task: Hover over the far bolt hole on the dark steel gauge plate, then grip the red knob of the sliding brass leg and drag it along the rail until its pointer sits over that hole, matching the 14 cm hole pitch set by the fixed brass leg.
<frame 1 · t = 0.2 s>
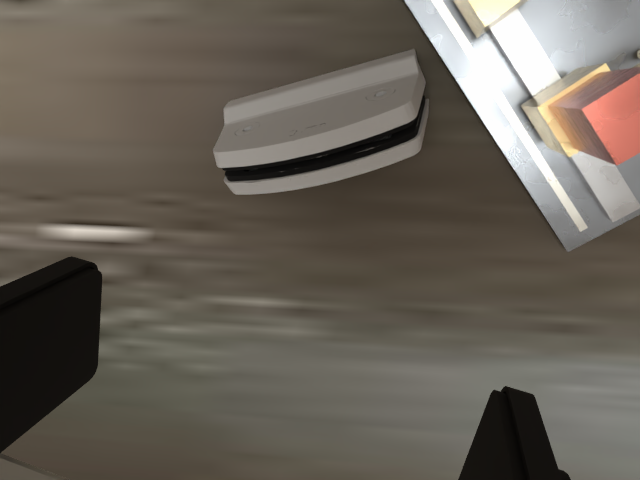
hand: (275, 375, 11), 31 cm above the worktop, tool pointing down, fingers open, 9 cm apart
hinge: (328, 123, 40), on the worktop
gauge plate: (570, 63, 34), on the worktop
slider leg: (625, 87, 26), point 9 cm above the worktop, slide at 9.0 cm
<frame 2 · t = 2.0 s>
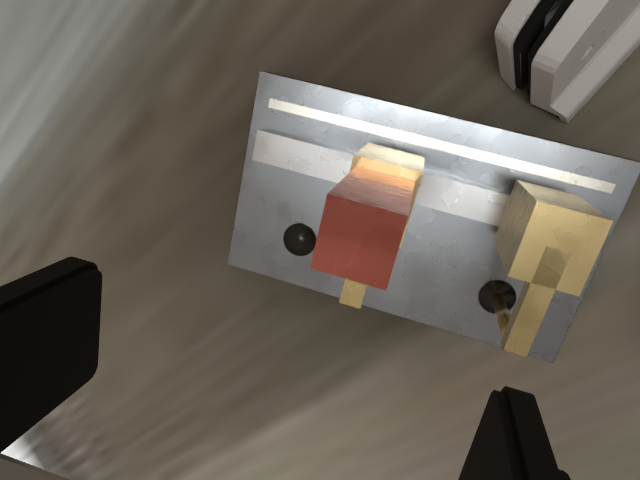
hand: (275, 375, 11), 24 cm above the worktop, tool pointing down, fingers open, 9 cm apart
gauge plate: (410, 215, 33), on the worktop
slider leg: (367, 241, 25), point 9 cm above the worktop, slide at 9.0 cm
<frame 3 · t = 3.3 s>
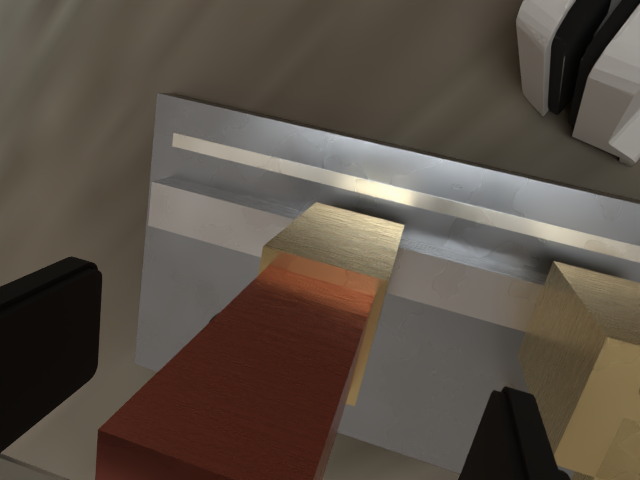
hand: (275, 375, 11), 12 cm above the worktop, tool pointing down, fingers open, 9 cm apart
gauge plate: (389, 301, 22), on the worktop
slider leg: (297, 391, 14), point 9 cm above the worktop, slide at 9.0 cm
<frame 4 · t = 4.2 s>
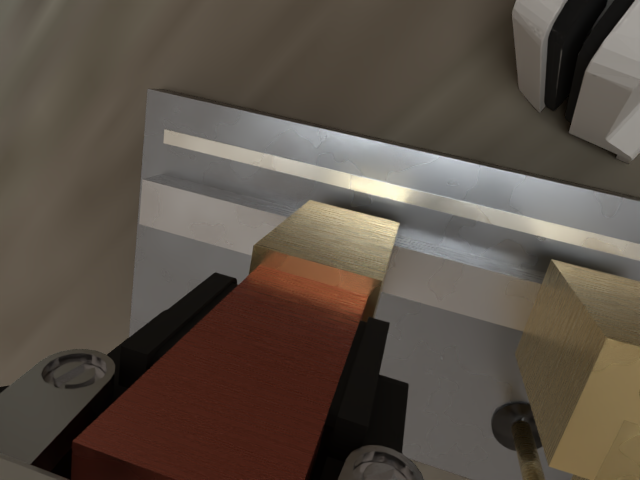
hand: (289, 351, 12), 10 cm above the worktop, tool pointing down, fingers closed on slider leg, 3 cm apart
gauge plate: (385, 300, 22), on the worktop
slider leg: (289, 393, 14), point 9 cm above the worktop, slide at 9.0 cm, touching gripper
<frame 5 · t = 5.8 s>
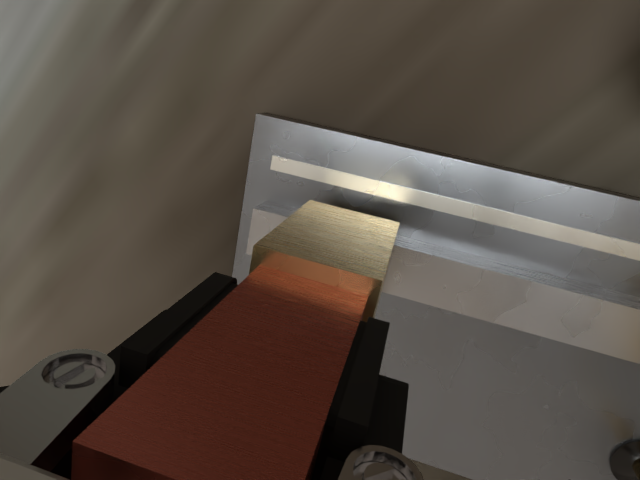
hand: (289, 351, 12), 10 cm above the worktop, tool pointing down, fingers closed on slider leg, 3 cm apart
gauge plate: (495, 330, 21), on the worktop
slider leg: (289, 393, 14), point 9 cm above the worktop, slide at 14.0 cm, touching gripper
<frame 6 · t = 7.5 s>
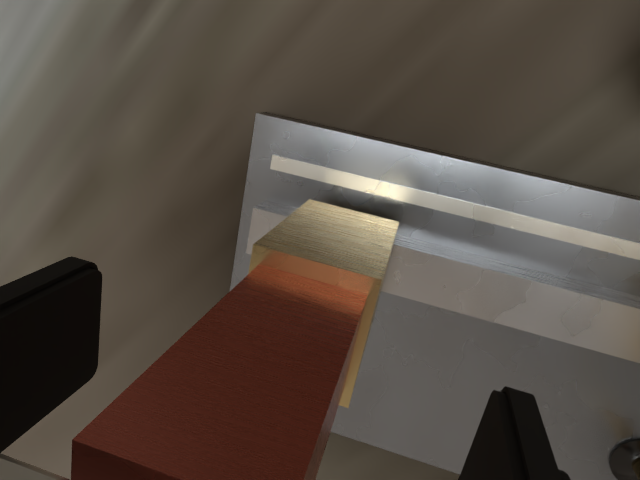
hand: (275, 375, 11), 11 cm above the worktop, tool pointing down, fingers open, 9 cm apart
gauge plate: (495, 330, 21), on the worktop
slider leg: (289, 392, 14), point 9 cm above the worktop, slide at 14.0 cm
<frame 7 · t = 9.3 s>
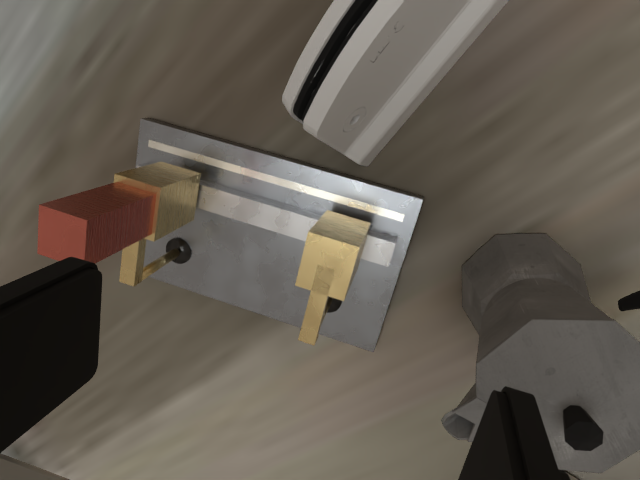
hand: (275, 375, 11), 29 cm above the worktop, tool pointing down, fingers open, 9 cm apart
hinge: (398, 49, 35), on the worktop
coffeepot: (531, 279, 38), on the worktop
gauge plate: (264, 233, 41), on the worktop
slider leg: (132, 236, 34), point 9 cm above the worktop, slide at 14.0 cm
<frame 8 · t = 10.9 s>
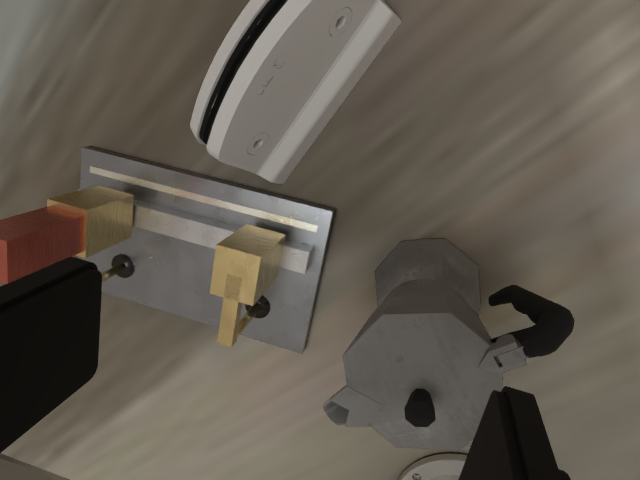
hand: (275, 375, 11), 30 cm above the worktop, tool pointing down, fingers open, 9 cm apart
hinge: (302, 78, 39), on the worktop
coffeepot: (438, 280, 41), on the worktop
gauge plate: (199, 247, 45), on the worktop
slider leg: (66, 254, 38), point 9 cm above the worktop, slide at 14.0 cm
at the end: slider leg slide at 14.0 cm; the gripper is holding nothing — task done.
